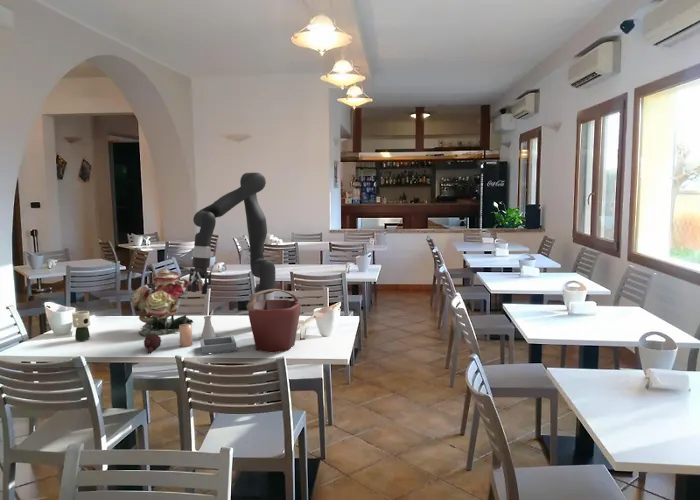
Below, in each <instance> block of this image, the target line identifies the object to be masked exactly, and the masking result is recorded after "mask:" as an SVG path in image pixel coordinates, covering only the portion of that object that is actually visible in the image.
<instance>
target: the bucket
mask: <svg viewBox="0 0 700 500" xmlns="http://www.w3.org/2000/svg"><path fill="white" fill-rule="evenodd" d="M271 291H274V292H282V293H285V294H287V295H289V296H291V297H292V298H293V300H291V299H287V298H286V299H274V300H262V301H257V302H256V298H257V296H259V295H261V294H264V293H267V292H271ZM299 300H300V299H299V298H298V297H297V296H296V295H295V294H294V293H291V292H289V291H287V290H282V289H279V288H274V289H269V290H263V291H260V292H257V293H255V292H254V293H253V294H251V295H250V300H249V302H248V303H247V305H246V306H245V307H246V308H247V311H248V320H249V323H250V327H251V331H252V337H253V341H254V345H255V350H256V351H258V352H263V353H269V352H273V353H279V351H280V352H286V351H285V350H287V351H289V350H290V349H292V348H293V347H295V345H296V339H297V338H296V337H297V333H298V326H299V319H300V315H301V303H300V302H299ZM291 347H292V348H291Z"/></svg>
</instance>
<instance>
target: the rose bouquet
mask: <svg viewBox="0 0 700 500" xmlns="http://www.w3.org/2000/svg"><path fill="white" fill-rule="evenodd" d="M154 274H155V275H156V276H154V277H153V279H154V281H153V284H154V285H155V288H156V289H151V288H150V287H149V286H148V284H144V285H141V286H140V287H138V288H137V289H135V290H134V293H133V294H132V295H133V297H131V298H129V302H130V303H133V304H132V306H131V307H132V308H133V310H134V313H137V312H139V313H138V314H139V316H138V319H139V320H140V321H141V322H142V323H145V324H144V325H142V327H141V328H140V329H142V330H139V331H138V334H142V335H143V337H146V336H148V335H149V334H156V335H158V336H159V337H161V336H163V335H164V336H165V335H174V334H175V335H177V334H178V333H179V325H182V324H193V323H194V320H193V319H190V318H189V317H187V315H188V313H186V314H184V315H182V316H179V317H176V318H175V315H177V313H178V309H179V307H180V305H181V301H182V298H181V296H184V295H185V296H188V295H189V293H188V292H185V290H186V289H187V288H186V286H189V284H190V281H189V280H187V279H186V278H182V279H180V278H181V277H182V276H181V275H182V273H181V272H177V271H171V270H168V269H165V268H159V270H157V271H155V272H154ZM169 317H170V319H168V318H169Z"/></svg>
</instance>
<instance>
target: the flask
mask: <svg viewBox="0 0 700 500" xmlns="http://www.w3.org/2000/svg"><path fill="white" fill-rule="evenodd" d="M211 318H212V315H205V316H203V319H204V325H203V328H202V332H201V335H200V340H201V339H207V338H217V333H216V332H215V329H214V326H213V325H212V321H211Z"/></svg>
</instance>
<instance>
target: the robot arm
mask: <svg viewBox="0 0 700 500" xmlns="http://www.w3.org/2000/svg"><path fill="white" fill-rule="evenodd" d="M239 181H240V183H239V184H240V185H239V187H238V188H236V189H234V190H231V191H230V192H226V193H225V194H224V195H222V196H221V197H219V198H218V199H217V200H215V201H214V202H213V203H211V204H209V205H207V206H205V207H203V208H202V209H200V210H198V211H197V212H196V213H195V214H194V216H193V223H194V225H195V226H196V227H199V232H197V233H195V235H194V245H193V246H194V247H193V251H192V262H191V263H192V264H191V266H192V267H191V268H189V277H188V281H189V283H190V284H191V289H190V290H191V293H196V292H197V288H198V284H197V283H198V281H199V282H201V295H207V294H208V286H210V285H212V271H211V270H208V268H210V265H211V254H212V253H211V252H212V251H211V247H212V246H211V244H212V236H213V234H214V231H215V227H216V222H217V221H216V220H217V219H216V218H221V217H223V216H224V215H225V214H227V213H229V212H230V211H231V210H232V209H233V208H234V207H236V206H237V205H238V204H240V203H242V202H243V203H244V211H245V217H246V219H245V220H246V228H247V235H248V241H249V242H248V243H249V254H250V255H249V256H250V257H249V259H250V262H249V263H250V272H251V274H252V276H253V277H255V278H258V279H259V284H258V285H256V286H255V287H254V294H255V293H257V292H260V291H263V290H269V289H275V286H276V266H275V263H274V262H273V261H272V260H270V259H269V260H268V259H265V255H264V244H265V242H266V239H267V236H268V235H267V234H268V226H267V224H268V223H267V218H266V216H265V213H264V212H263V210H262V208H261V206H260V204H259V202H258V198H257V197H258V196H257V194H258V193H259V192H261V191H263V189H264V188H265V186H266V184H267V183H266V182H267V181H266V177H265V176H264V175H263V174H262V173H260V172H245V173H243V174H242V175H241V177H240V180H239ZM262 300H275V291H271V292H267V293H264V294H261V295H259V296H257V298H256V302H257V301H262Z"/></svg>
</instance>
